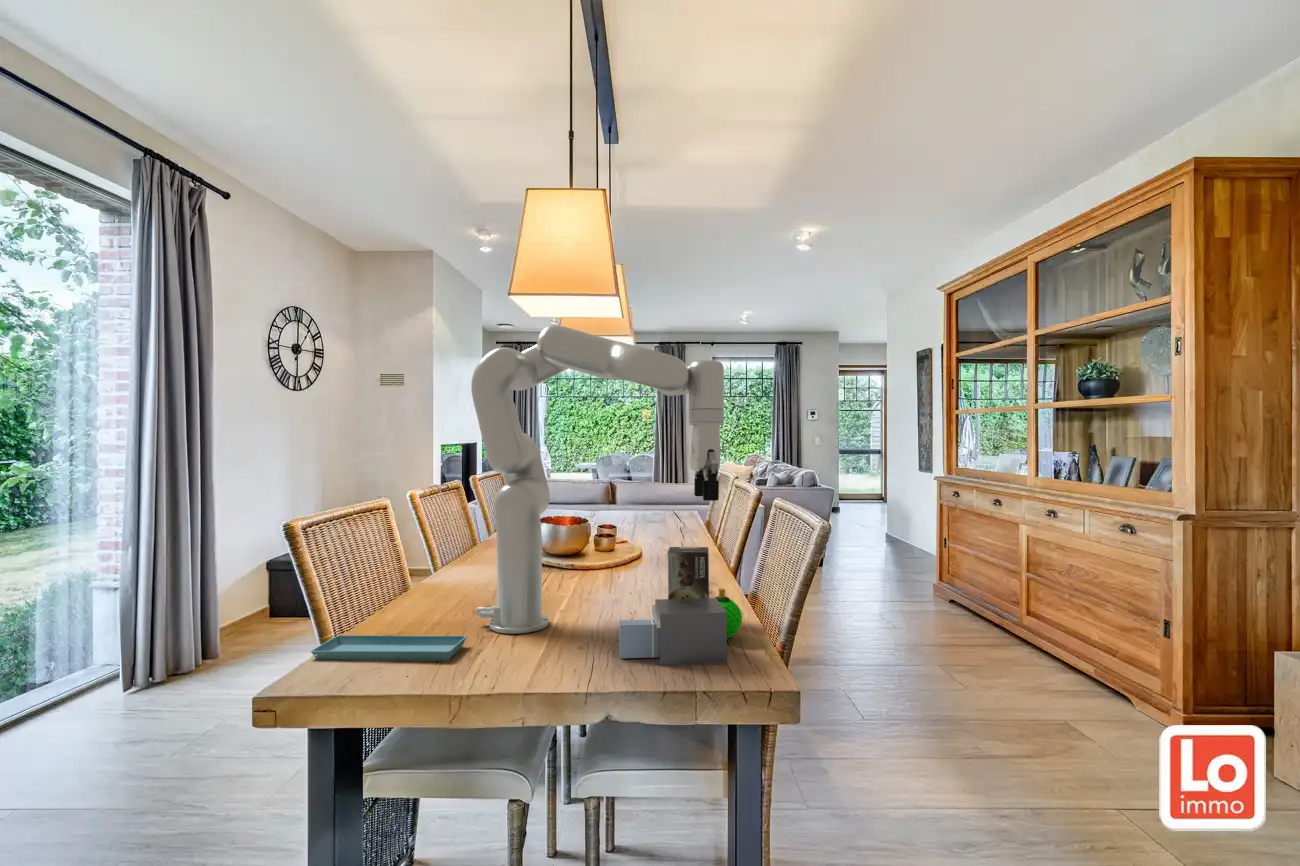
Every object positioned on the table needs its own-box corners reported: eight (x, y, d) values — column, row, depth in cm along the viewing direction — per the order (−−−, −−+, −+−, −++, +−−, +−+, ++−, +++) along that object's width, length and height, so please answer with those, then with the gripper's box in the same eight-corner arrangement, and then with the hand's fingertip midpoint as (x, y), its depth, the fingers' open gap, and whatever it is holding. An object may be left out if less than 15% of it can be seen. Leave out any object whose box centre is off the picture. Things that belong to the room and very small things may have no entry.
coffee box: (709, 618, 138) (709, 546, 138) (709, 626, 132) (709, 551, 132) (669, 616, 139) (669, 545, 139) (667, 625, 133) (667, 550, 133)
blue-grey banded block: (620, 658, 112) (620, 625, 112) (619, 652, 115) (619, 620, 115) (696, 656, 113) (696, 623, 113) (693, 650, 116) (693, 618, 116)
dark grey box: (656, 665, 109) (656, 614, 109) (651, 647, 119) (652, 599, 119) (726, 663, 110) (726, 612, 110) (716, 645, 120) (716, 598, 120)
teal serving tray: (309, 662, 112) (309, 648, 112) (337, 645, 121) (337, 633, 121) (450, 665, 110) (450, 651, 110) (467, 648, 119) (467, 635, 119)
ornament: (699, 632, 128) (699, 584, 128) (737, 631, 128) (737, 584, 128) (705, 645, 120) (705, 594, 120) (746, 644, 120) (746, 593, 120)
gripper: (682, 419, 140) (682, 494, 139) (696, 416, 122) (696, 502, 122) (714, 419, 140) (714, 494, 140) (733, 417, 123) (733, 502, 123)
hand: (706, 498), depth 131 cm, fingers open, 9 cm apart
